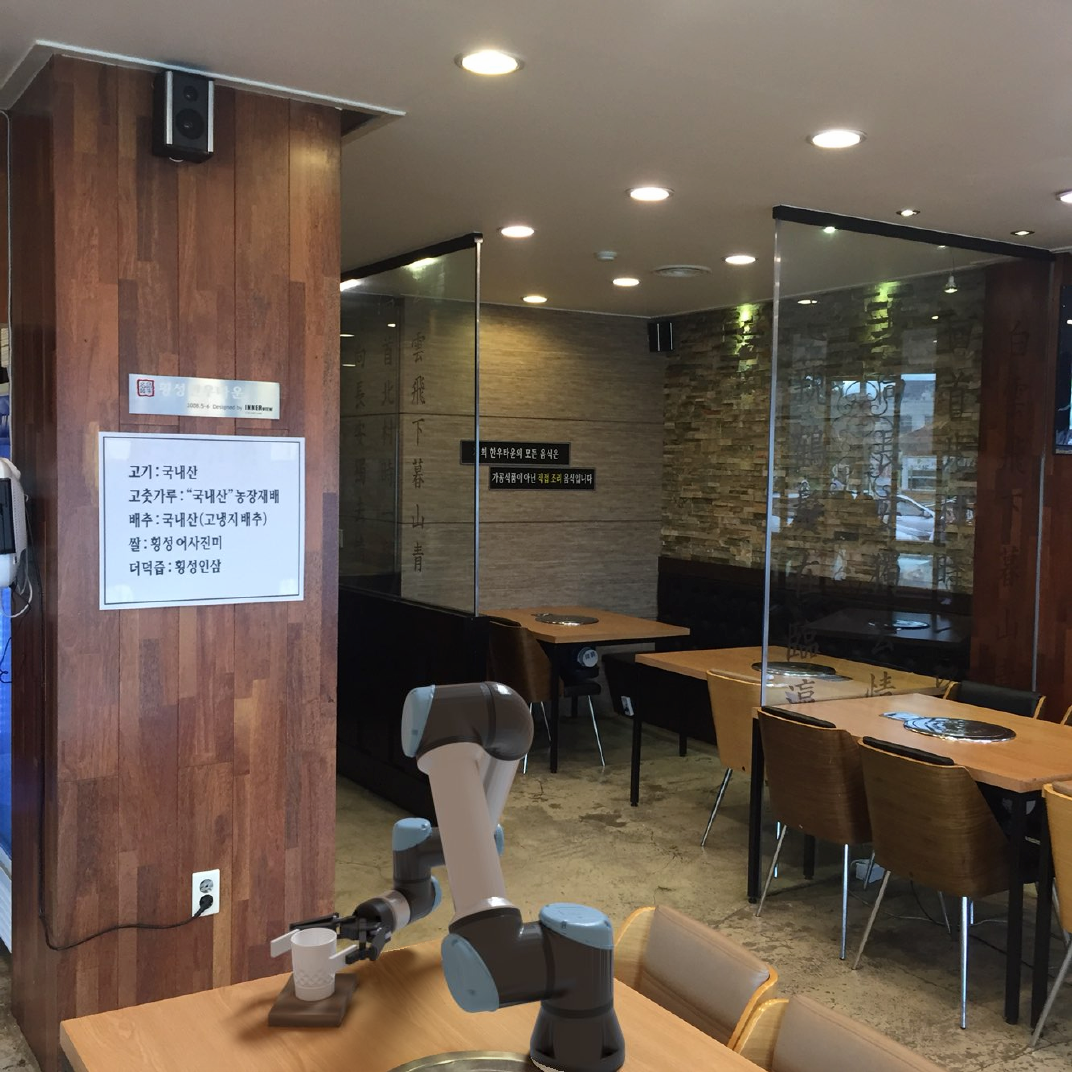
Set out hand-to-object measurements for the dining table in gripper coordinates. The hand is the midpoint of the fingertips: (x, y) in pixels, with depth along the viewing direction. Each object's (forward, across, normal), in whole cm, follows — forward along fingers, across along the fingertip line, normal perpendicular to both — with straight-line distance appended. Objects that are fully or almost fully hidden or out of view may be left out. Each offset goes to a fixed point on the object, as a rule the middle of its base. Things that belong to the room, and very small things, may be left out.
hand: (300, 957), depth 189 cm
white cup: (-3, 0, -8) cm, 8 cm away
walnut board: (-3, 0, -10) cm, 10 cm away
